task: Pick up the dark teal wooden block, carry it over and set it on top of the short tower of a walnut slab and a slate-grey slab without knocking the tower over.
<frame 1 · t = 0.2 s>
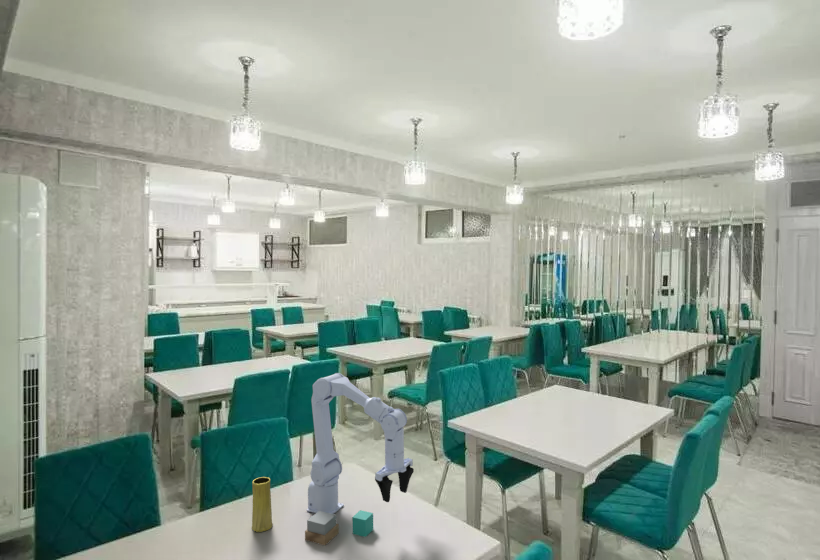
hand: (394, 496, 140), 10 cm above the table, tool pointing down, fingers open, 7 cm apart
vase: (262, 527, 142), on the table
walnut slab: (322, 537, 136), on the table, touching slate slab
slate slab: (321, 527, 136), point 3 cm above the table, touching walnut slab
teal block: (363, 531, 139), on the table
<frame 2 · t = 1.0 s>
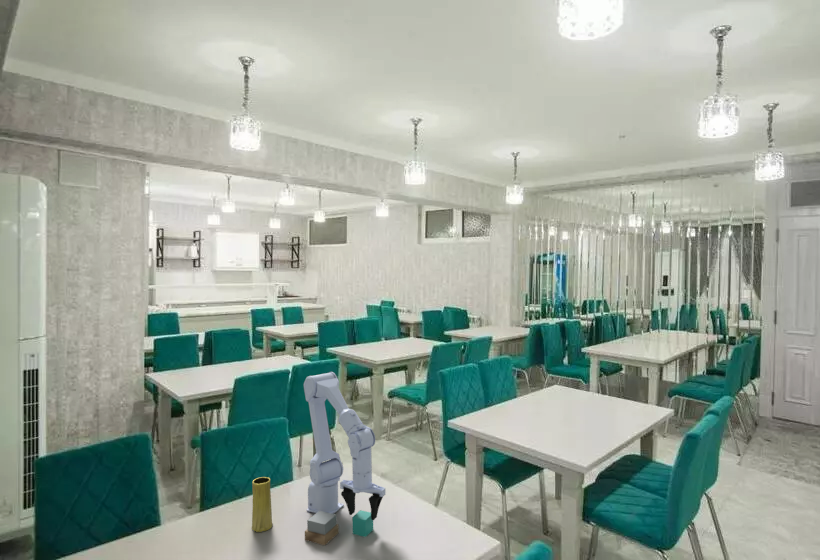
hand: (363, 515, 139), 5 cm above the table, tool pointing down, fingers open, 7 cm apart
walnut slab: (322, 537, 136), on the table
slate slab: (322, 527, 136), point 3 cm above the table
everything else where it was.
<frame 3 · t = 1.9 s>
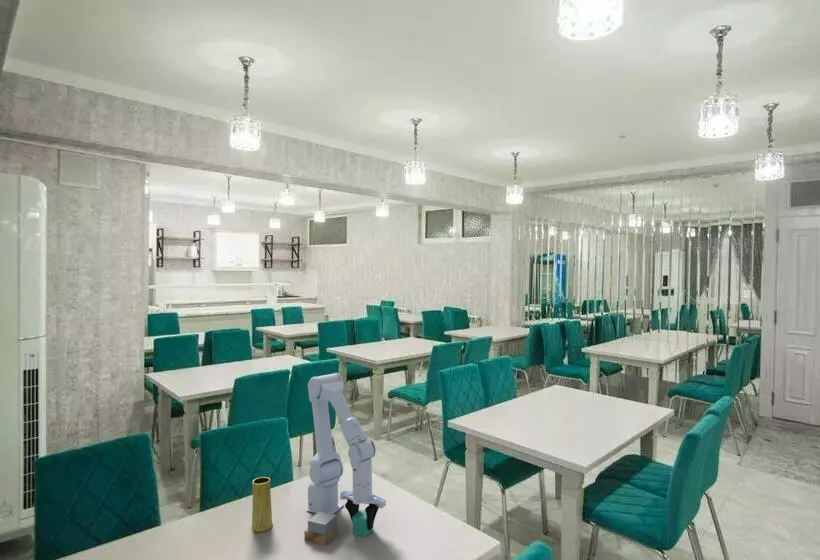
hand: (363, 526, 139), 1 cm above the table, tool pointing down, fingers closed on teal block, 4 cm apart
walnut slab: (321, 537, 136), on the table, touching slate slab
slate slab: (322, 528, 136), point 3 cm above the table, touching walnut slab
teal block: (363, 531, 139), on the table, touching gripper
everything else where it was.
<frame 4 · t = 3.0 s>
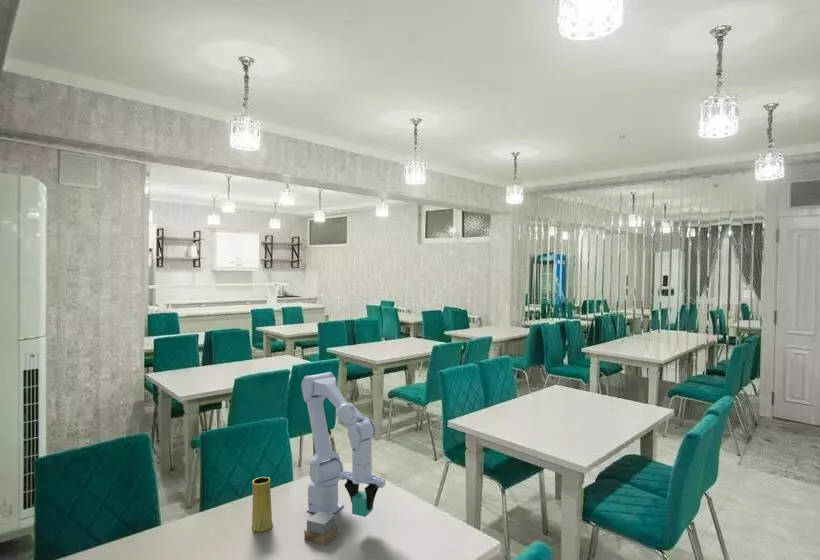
hand: (362, 506, 139), 7 cm above the table, tool pointing down, fingers closed on teal block, 4 cm apart
teal block: (362, 511, 139), point 6 cm above the table, touching gripper
everything else where it was.
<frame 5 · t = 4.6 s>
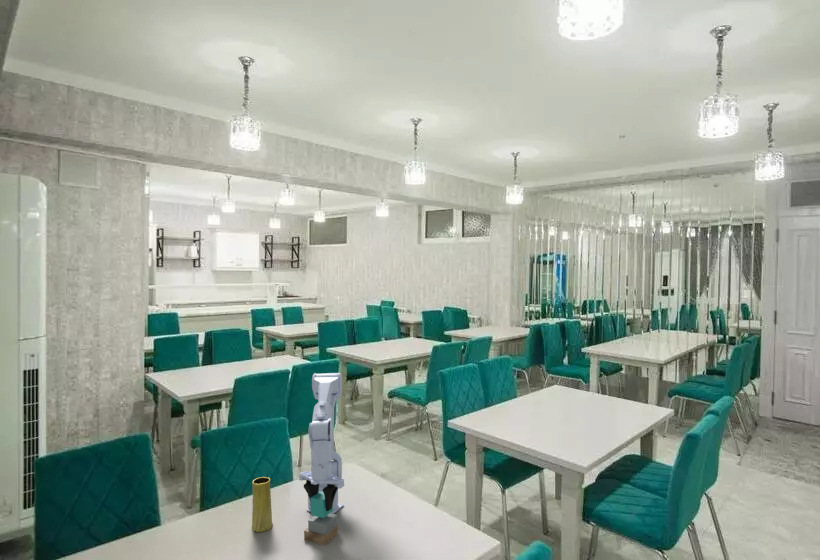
hand: (321, 507, 136), 8 cm above the table, tool pointing down, fingers closed on teal block, 4 cm apart
teal block: (321, 512, 136), point 7 cm above the table, touching gripper
everything else where it was.
when the fingers open (8 cm above the table, at t = 4.8 s): teal block moves 1 cm, point 6 cm above the table.
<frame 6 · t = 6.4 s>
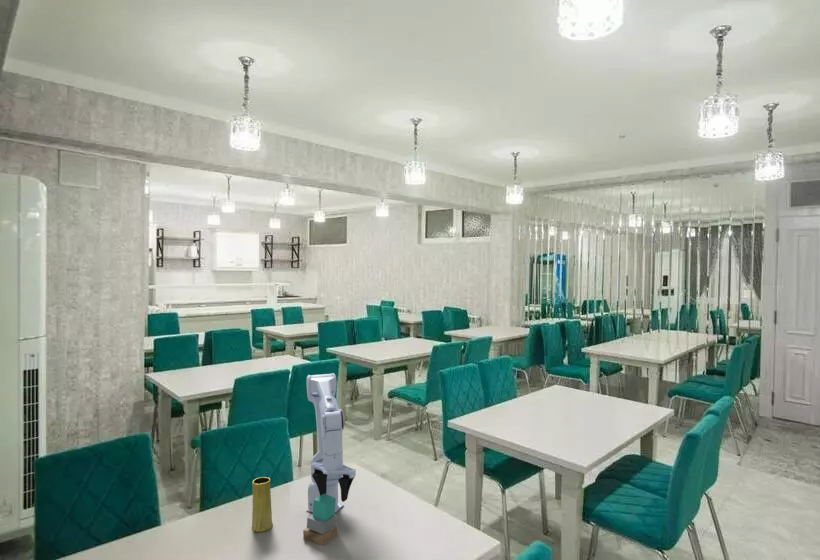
hand: (333, 497, 138), 10 cm above the table, tool pointing down, fingers open, 7 cm apart
teal block: (323, 515, 136), point 6 cm above the table, tilted 5°
everything else where it was.
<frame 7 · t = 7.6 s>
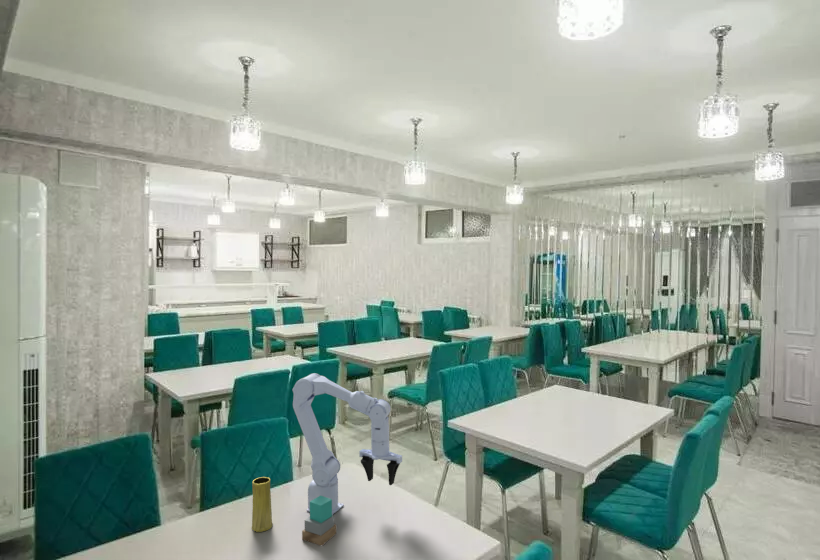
hand: (380, 481, 149), 10 cm above the table, tool pointing down, fingers open, 7 cm apart
slate slab: (319, 528, 136), point 3 cm above the table, touching teal block, walnut slab
teal block: (321, 517, 136), point 6 cm above the table, touching slate slab
everything else where it was.
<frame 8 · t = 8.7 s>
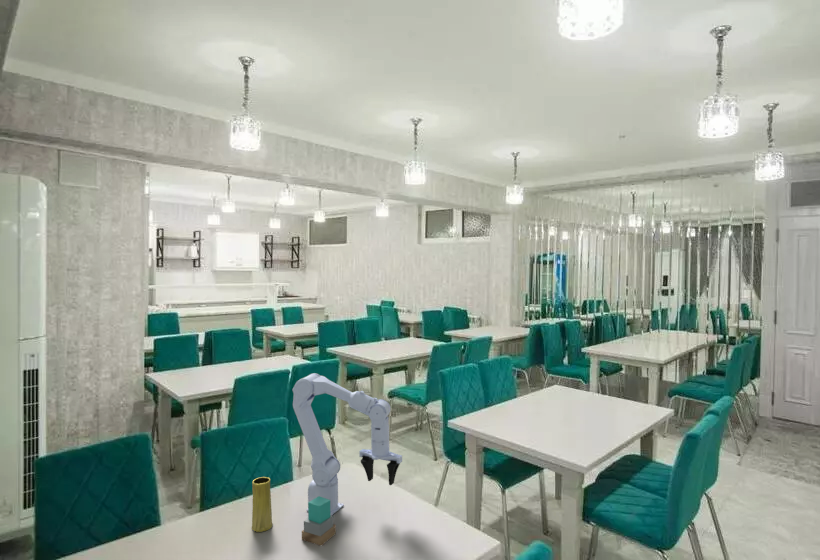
hand: (380, 481, 149), 10 cm above the table, tool pointing down, fingers open, 7 cm apart
slate slab: (318, 528, 136), point 3 cm above the table, touching walnut slab
teal block: (319, 518, 136), point 6 cm above the table
everything else where it was.
at the end: teal block 0.3 cm off-centre on the slate slab, point 3.0 cm above the slate slab's base; slate slab moved 1.2 cm from its start; teal block tilted 0° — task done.
